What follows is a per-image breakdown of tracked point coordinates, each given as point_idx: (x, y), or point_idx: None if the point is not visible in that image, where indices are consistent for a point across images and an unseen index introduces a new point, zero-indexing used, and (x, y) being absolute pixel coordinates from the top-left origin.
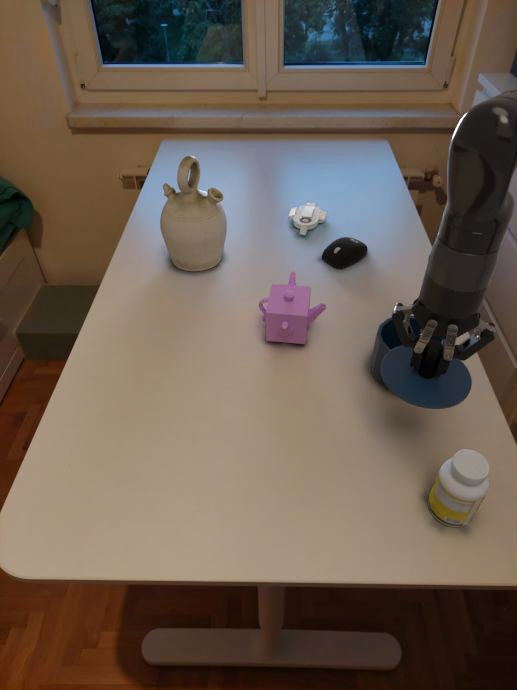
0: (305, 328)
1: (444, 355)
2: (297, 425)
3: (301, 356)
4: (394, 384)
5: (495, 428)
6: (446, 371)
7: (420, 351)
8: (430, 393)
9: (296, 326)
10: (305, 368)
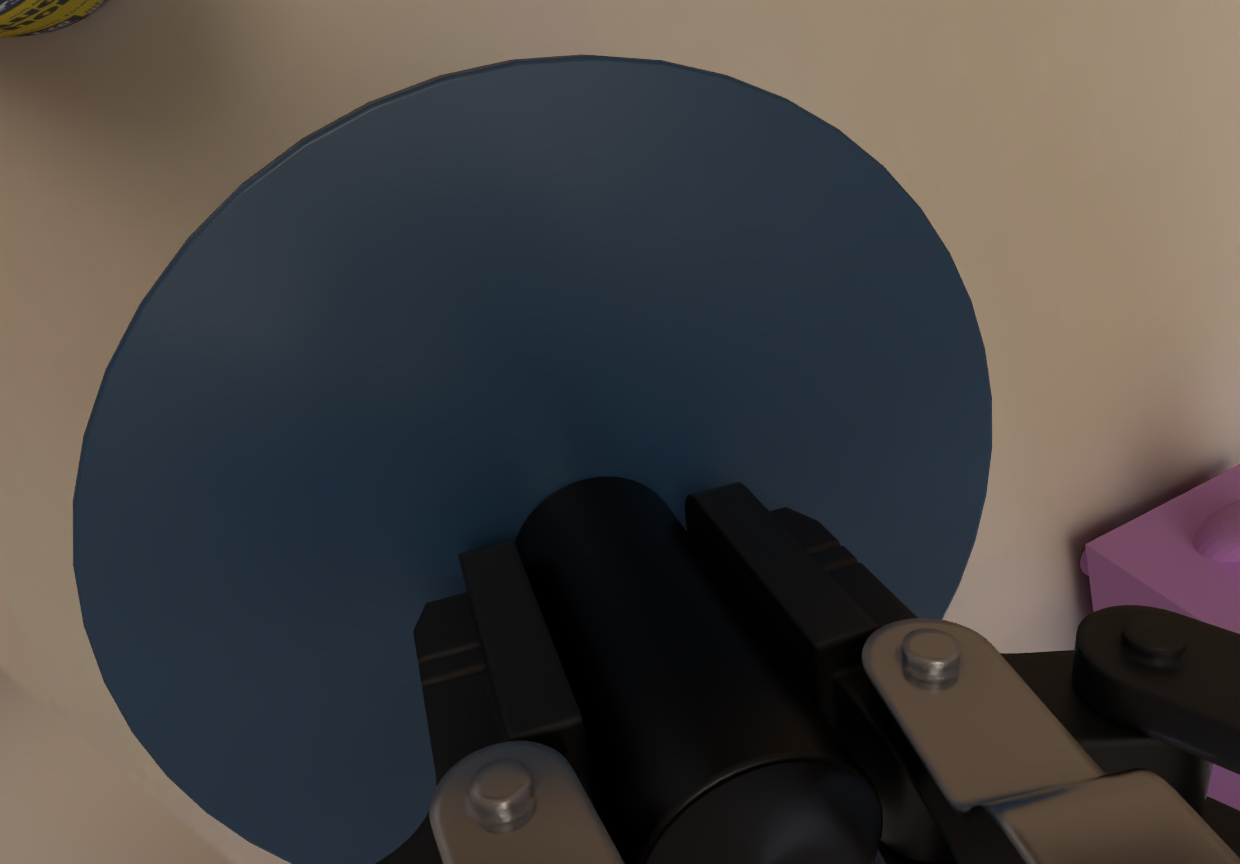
0: (1176, 596)
1: (568, 792)
2: (994, 45)
3: (1068, 478)
4: (842, 227)
5: (17, 618)
6: (418, 641)
7: (892, 661)
8: (465, 307)
9: (1224, 579)
10: (1036, 422)
